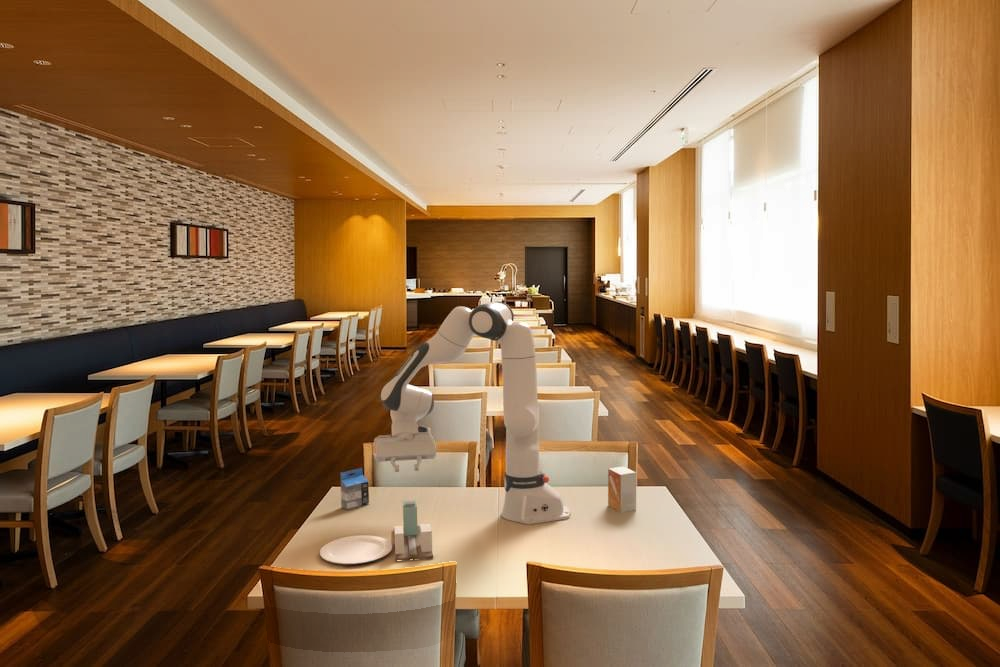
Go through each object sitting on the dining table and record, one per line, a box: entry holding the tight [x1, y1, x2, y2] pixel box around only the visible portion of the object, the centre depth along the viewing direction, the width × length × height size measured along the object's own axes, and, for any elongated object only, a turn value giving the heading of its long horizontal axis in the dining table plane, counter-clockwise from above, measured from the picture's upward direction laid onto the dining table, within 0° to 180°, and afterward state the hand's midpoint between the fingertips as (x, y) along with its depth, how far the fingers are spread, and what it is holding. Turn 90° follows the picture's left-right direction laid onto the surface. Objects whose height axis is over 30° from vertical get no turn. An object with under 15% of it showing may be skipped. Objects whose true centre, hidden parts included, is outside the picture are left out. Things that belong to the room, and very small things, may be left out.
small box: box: [607, 465, 637, 513], centre depth 253 cm, size 8×6×13 cm
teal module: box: [402, 499, 418, 536], centre depth 230 cm, size 4×6×10 cm, turn 9°
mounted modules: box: [393, 523, 433, 554], centre depth 218 cm, size 10×6×6 cm, turn 99°
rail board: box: [393, 525, 434, 561], centre depth 224 cm, size 10×24×1 cm, turn 9°
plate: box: [319, 534, 393, 566], centre depth 219 cm, size 21×21×2 cm
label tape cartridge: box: [340, 467, 370, 511], centre depth 258 cm, size 9×4×12 cm, turn 131°
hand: (406, 470), depth 247 cm, fingers open, 5 cm apart
